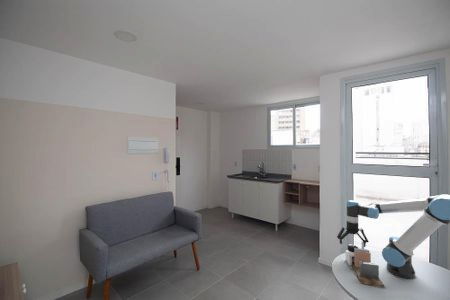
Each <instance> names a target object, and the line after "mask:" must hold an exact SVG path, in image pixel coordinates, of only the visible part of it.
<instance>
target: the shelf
mask: <svg viewBox="0 0 450 300" xmlns="http://www.w3.org/2000/svg"><path fill="white" fill-rule="evenodd" d="M351 267H352V269H353V271H354V273H355V274H356V276H357V278H358V280H359V281H360V283H361V285H365V286H366V285H367V286H372V287H378V288H379V287H380V288H385V284H384V283H383V282H382V280H381V279H380V277H379V280H378V279H371V278H365V277H361V276H360V267H355V264H352V265H351Z"/></svg>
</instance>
